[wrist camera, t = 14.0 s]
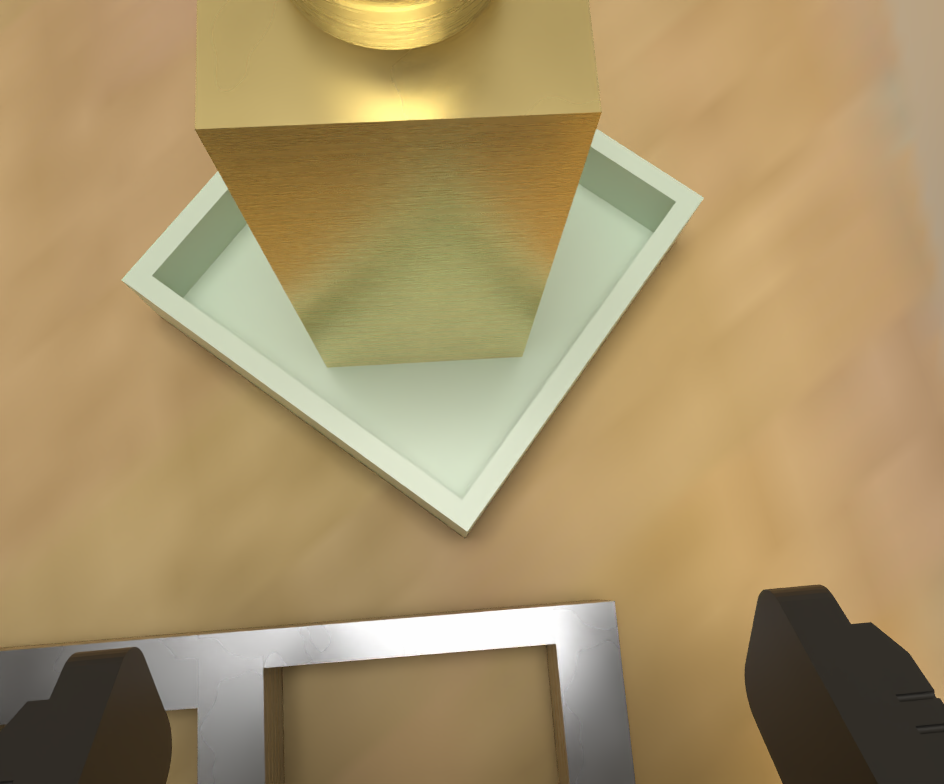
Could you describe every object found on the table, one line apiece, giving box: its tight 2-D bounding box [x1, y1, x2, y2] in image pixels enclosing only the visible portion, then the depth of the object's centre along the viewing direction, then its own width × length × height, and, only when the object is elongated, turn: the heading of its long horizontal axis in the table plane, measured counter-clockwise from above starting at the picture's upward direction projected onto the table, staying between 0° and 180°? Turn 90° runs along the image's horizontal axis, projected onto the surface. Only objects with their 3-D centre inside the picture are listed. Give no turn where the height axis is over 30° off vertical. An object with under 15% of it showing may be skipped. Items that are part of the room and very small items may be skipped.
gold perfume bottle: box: [195, 0, 602, 368], centre depth 15 cm, size 5×5×13 cm
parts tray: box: [122, 129, 703, 538], centre depth 21 cm, size 10×10×2 cm
